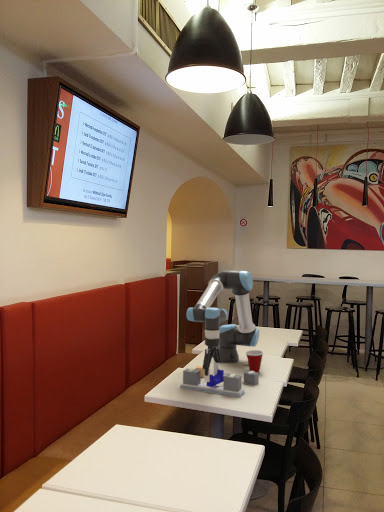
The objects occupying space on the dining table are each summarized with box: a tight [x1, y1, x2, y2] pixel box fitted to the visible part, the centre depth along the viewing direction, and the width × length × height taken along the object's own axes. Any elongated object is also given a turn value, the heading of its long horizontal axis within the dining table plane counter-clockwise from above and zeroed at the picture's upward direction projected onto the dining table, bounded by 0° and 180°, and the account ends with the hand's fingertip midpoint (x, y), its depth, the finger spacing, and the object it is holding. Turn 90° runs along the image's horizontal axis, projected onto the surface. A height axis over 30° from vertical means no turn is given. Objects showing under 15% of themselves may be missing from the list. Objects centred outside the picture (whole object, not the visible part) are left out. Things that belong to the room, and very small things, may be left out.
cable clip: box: [206, 368, 225, 387], centre depth 239 cm, size 12×4×6 cm, turn 145°
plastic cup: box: [245, 349, 264, 373], centre depth 276 cm, size 11×11×12 cm
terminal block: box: [194, 365, 204, 378], centre depth 267 cm, size 5×6×5 cm
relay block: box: [243, 370, 260, 386], centre depth 253 cm, size 4×7×6 cm, turn 56°
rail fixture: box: [179, 367, 245, 398], centre depth 240 cm, size 6×34×10 cm, turn 66°
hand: (211, 378), depth 240 cm, fingers closed on cable clip, 12 cm apart
